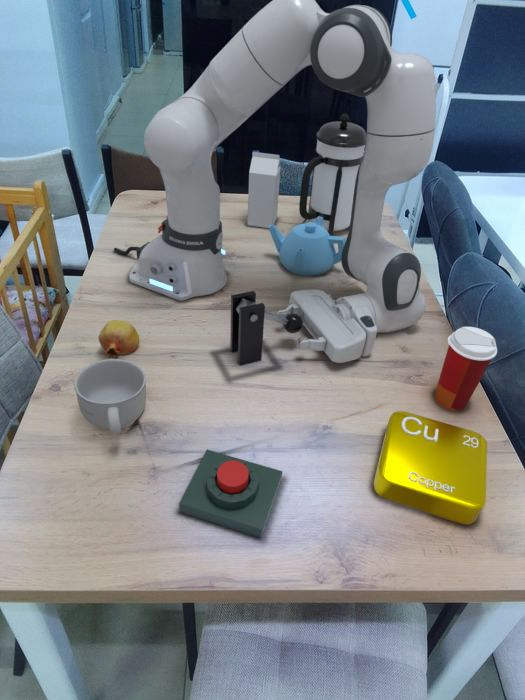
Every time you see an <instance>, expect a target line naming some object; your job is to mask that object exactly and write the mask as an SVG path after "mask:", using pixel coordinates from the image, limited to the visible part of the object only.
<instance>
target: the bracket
mask: <svg viewBox="0 0 525 700" xmlns="http://www.w3.org/2000/svg"><path fill="white" fill-rule="evenodd" d="M242 298H243V299H246V300H249V301H252V302H255V305H250V306H245V307H240V308H239V313H238V312H237V310H236V308H237V306H238V305H239V303H240V301H241V300H242ZM265 311H266V305H265V304H264V303H263V302H261V303H257V293H256V291H255V290H251V291H246V292H239V293H235V294H231V295H230V333H229V334H230V339H229V340H230V343H229V345H230V346H229V350H230V352H231V353H232V354H233V353H236V352H237V364H238V365H239V366H245V365H249V364H252V363H257V362H261V361H262V360H263V359H262V357H263V344H264V343H263V342H264V329H265V327H264V326H265V318H264V314H265Z"/></svg>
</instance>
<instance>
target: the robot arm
mask: <svg viewBox="0 0 525 700" xmlns="http://www.w3.org/2000/svg"><path fill="white" fill-rule="evenodd" d="M392 46H393V33H392V27H391V25H390V22H389V21H388V19H387V17H386V16H385V15H384V13H382V11H380V10H379V9H377V8H375V7H372V6H369V5H363V4H351V5H347V6H345V7H341V8H339V9H336V10H334V11H331V12H329V13H328V12H325V10H323V9H322V8H321V7H320V5H319V3H317V1H316V0H271V1H270V2H269V3H267V4H266V5H265V6H264V7H263V8H261V9H260V10H259V11H258V12H256V14H255V15H253V16H252V17H251V18H250V19H249V20H248V21H247V22H246V23H245V24H244V25H243V26H242V28H241V29H239V31H237V32H236V34H235V35H234V36H233V37H232V38H231V39H230V40H229V41H228V42H227V44H225V46H224V47H222V49H221V50H220V51H219V52H218V53H217V54H216V55H215V56H214V57H213V58H212V60H210V62H209V64H208V65H207V66H206V68H205V70H204V71H202V73H201V75H200V76H199V77H198V78H197V79H196V81H195V82H194V83H193V84H192V86H190V88H189V89H188V90H186V92H185V93H183V94H182V95H181V96H180V97H178V98H176V99H175V100H174V101H172V102H170V103H169V104H167V105H166V106H164V107H163V108H161V109H159V110H158V111H157V112H156V113H155V115H154V116H153V117H152V119H151V120H150V121H149V124H148V125H147V126H146V129H145V130H144V131H145V132H144V134H143V135H144V136H143V137H144V138H143V145H144V149H145V152H146V155H147V156H148V158H149V160H150V161H151V162H152V163H153V164H154V165H155V166H156V167H157V168H158V170H159V173H160V176H161V180H162V181H163V182H162V183H163V186H164V190H165V199H166V211H167V214H166V219H164V220H163V221H162V222H161V224H160V225H159V226H158V228H157V230H158V231H157V234H160V233H161V234H160V235H158V236H157V237H155V238H153V239H152V240H150V241H148V242H146V243H145V244H143V245H141V246H129V247H127V249H126V250H122V249H120V248H117V247H114V248H113V251H114V252H115V253H117V254H120V255H122V256H128V255H129V254H130V253H131V252H132V251H135V252H136V259H137V260H138V261H137V262H136V263H135V264H134V265H133V266H132V268H131V270H130V271H129V276H128V277H129V282H130V283H132V284H134V285H136V286H140V287H142V288H145V289H146V290H147V289H148V290H150V291H153V292H155V293H158V294H161V295H163V296H166V297H169V298H171V299H174V300H177V301H181V302H182V301H187V300H189V299H192V298H195V297H203V296H208V295H212V294H214V293H217V292H219V291H220V290H222V289H223V288H224V287H225V286H226V285H227V283H228V275H227V273H226V270H225V266H224V259H223V255H224V256H225V255H226V250H224V249H222V247H223V239H224V238H223V237H224V236H223V235H224V234H223V223H222V220H221V188H220V186H219V184H218V182H217V181H216V179H215V175H214V171H213V166H212V156H213V151H214V150H215V149H216V148H217V147H218V146H219V145H220V144H222V143H223V141H225V140H226V139H227V138H228V137H229V136H230V135H231V134H232V133H233V132H234V131H236V130H237V129H238V128H239V127H240V126H241V125H242V124H244V123H245V122H246V121H247V120H248V119H249V118H250V117H251V116H252V115H254V114H255V113H256V112H257V111H258V110H259V109H260V108H261V107H262V106H264V105H265V104H266V102H268V101H269V100H270V99H271V98H272V97H273V96H274V95H276V93H277V92H279V91H280V90H281V89H282V88H283V87H285V86H286V84H287V83H288V82H290V81H291V80H292V79H293V78H294V77H295V76H296V75H297V74H298V73H299V72H301V71H302V70H303V69H305V68H307V67H309V66H311V67H312V70H313V71H314V74H315V75H316V77H317V78H318V79H319V81H320V82H322V84H325V86H327V87H329V88H331V89H333V90H336V91H340V92H344V93H347V94H350V95H354V96H357V97H360V98H364V99H365V101H366V109H367V110H366V111H367V117H366V119H367V121H366V122H367V123H366V136H367V139H366V145H365V149H364V158H363V160H362V162H361V163H360V166H359V168H358V172H357V176H356V181H355V188H354V195H353V204H352V212H351V220H350V227H348V233H347V236H346V238H345V239H346V242H345V245H344V248H343V251H342V256H341V261H340V263H341V267H342V269H343V271H344V273H345V274H346V275H347V276H348V277H350V278H352V279H354V280H356V281H358V282H361V283H362V284H364V285H365V286H366V289H365V292H363V293H358V294H352V295H345V296H341V297H338V298H337V299H335V298H334V297H333V296H332V295H331V294H330V293H326V291H324V290H322V289H301V290H299V289H298V290H294V291H292V292H291V293H290V294H289V302H288V306H287V307H285V308H284V309H280V310H277V311H276V314H277V315H280V316H283V317H286V316H287V315H288V314H291V313H295V314H298V315H299V316H300V317H301V318H302V320H303V326H304V328H305V329H306V330H307V332H308V333H309V334H310V335H311V336H312V338H308V337H307V336H303V337H299V338H297V342H296V345H297V347H298V349H300V351H304V350H313V351H317V352H322V351H323V352H324V353H325V355H326V356H327V357H328V358H329V360H330V361H331V362H333V363H337V364H344V363H348V362H351V361H355V360H358V359H360V358H361V357H370V356H371V354H372V352H373V349H374V346H375V342H376V338H377V335H378V334H387V333H388V334H389V333H392V332H398V331H400V330H404V329H407V328H409V327H411V326H414V325H415V324H416V323H418V322H419V321H421V319H422V318H423V316H424V314H425V311H426V298H425V295H424V293H423V292H422V291H421V288H420V281H421V277H422V267H421V263H420V260H419V259H418V256H416V255H415V254H413V253H411V252H410V251H408V250H406V249H404V248H402V247H400V246H399V245H395V244H394V243H391V242H390V241H388V240H386V239H385V237H384V236H383V234H382V232H381V224H382V217H383V213H384V205H385V199H386V196H387V193H388V191H389V190H390V189H391V188H392V187H393V186H396V185H400V184H404V183H406V182H409V181H412V180H413V179H414V178H416V177H418V176H419V175H420V174H421V173H422V172H423V171H424V170H425V168H426V167H427V166H428V164H429V162H430V159H431V156H432V152H433V148H434V147H433V146H434V137H435V128H436V116H437V115H436V111H437V93H436V91H437V90H436V76H435V69H434V65H433V64H432V62H431V61H430V60H429V59H427V57H425V56H423V55H421V54H418V53H414V52H399V51H396V50H394V49H393V47H392Z"/></svg>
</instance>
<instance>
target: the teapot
mask: <svg viewBox="0 0 525 700" xmlns="http://www.w3.org/2000/svg"><path fill="white" fill-rule="evenodd" d="M322 224H323V217H320V216H318V217H317V219H316V222H315V223H313V222H310V221H308V222H304V224H303V223H300V224H297V225H295V226H294V227H293V228H292V229H291V230H290V231H289V232H288V234H287V235H286V236H283V234H282V233H281V231H280V230H279V228H278V227H277V225H275V224H274V225H270V226H269V228H268V230H269V233H270V236H271V238H272V241H273V243H274V246H275V248H276V251H277V253H278V258H279V261H280V263H281V264H282V265H283V267H284V268H285V269H286V270H287V271H289V272H291V273H293V274H295V275H298V276H303V277H316V276H320V275H323V274H325V273H327V272H328V271H330V270H331V269H332V268H333V267H334V265H336V264H338V263H341V256H342V251H343V248H344V245H345V242H346V239H347V238H346V236H338V235H337V236H336V235H333V236H330V235H329V233H328V231H327V230H326V229H325V228H324V227H322ZM335 244H336V245H337V252H336V247H335Z"/></svg>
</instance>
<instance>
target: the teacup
mask: <svg viewBox="0 0 525 700" xmlns="http://www.w3.org/2000/svg"><path fill="white" fill-rule="evenodd" d="M146 385H147V376H146V373H145V371H144V369H143V368H142V367H141V366H140V365H138V364H136V363H135V362H134V361H130V360H127V359H121V358H111V359H109V358H108V359H101V360H98V361H94V362H91V363H89V364H88V365H86V366H84V367H83V368H82V369H81V370H80V371H79V372H78V373H77V374H76V377H75V378H74V383H73V388H74V390H75V393H76V398H77V402H78V403H77V404H78V407H79V411H80V413H81V415H82V416H83V418H84V419H85V420H86V421H87V423H89V424H90V425H92V426H94V427H96V428H99V429H104V430H109V432H110V434H112V435H113V434H115V435H116V434H119V433H121V432H122V428H124V427H127V426H129V425H131V424H133V423H134V422H135V421H137V420H138V419H139V417H141V415H142V414H143V412H144V410H145V408H146V401H147V399H146V398H147V386H146Z"/></svg>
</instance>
